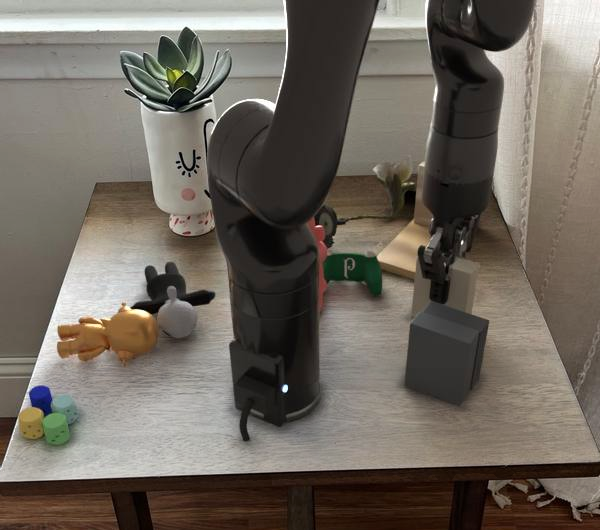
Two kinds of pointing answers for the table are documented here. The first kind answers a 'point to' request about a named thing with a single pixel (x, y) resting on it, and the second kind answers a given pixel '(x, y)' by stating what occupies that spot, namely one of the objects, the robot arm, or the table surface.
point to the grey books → (445, 352)
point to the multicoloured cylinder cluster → (48, 416)
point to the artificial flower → (393, 183)
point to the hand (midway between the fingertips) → (443, 294)
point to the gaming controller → (354, 269)
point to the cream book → (458, 291)
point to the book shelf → (409, 238)
